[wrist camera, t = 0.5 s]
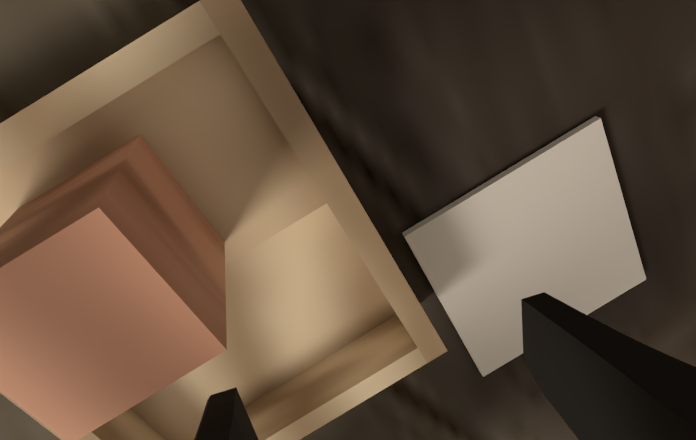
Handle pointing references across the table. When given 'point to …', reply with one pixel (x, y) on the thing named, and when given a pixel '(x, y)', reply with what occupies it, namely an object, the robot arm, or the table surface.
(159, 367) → the terracotta block
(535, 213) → the grey mat
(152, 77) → the organiser box
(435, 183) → the table surface
